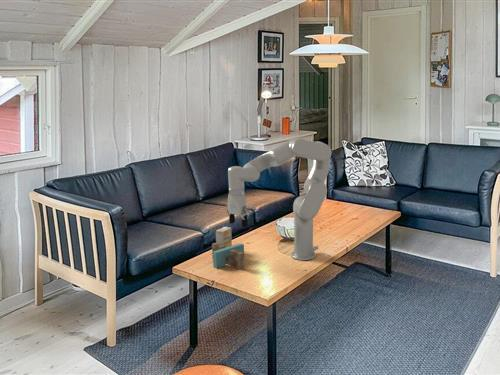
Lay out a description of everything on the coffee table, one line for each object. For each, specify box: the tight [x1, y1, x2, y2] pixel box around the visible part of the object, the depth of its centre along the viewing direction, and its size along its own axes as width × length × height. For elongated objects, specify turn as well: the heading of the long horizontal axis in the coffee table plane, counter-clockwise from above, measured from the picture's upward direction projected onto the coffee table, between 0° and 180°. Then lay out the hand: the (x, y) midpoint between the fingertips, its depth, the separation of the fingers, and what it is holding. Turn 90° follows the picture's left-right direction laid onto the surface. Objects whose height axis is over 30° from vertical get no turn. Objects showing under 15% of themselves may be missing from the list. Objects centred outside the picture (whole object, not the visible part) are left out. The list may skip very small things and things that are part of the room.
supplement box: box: [215, 226, 233, 248], centre depth 267 cm, size 8×5×13 cm, turn 148°
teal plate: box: [212, 242, 245, 269], centre depth 252 cm, size 18×2×8 cm, turn 131°
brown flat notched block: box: [211, 242, 245, 271], centre depth 252 cm, size 22×2×8 cm, turn 42°
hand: (238, 224), depth 251 cm, fingers open, 9 cm apart
